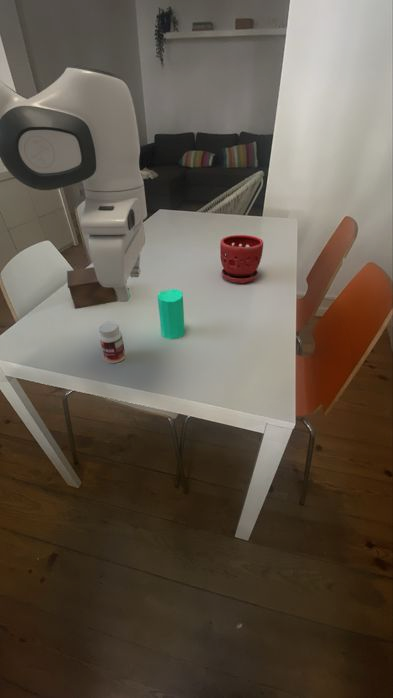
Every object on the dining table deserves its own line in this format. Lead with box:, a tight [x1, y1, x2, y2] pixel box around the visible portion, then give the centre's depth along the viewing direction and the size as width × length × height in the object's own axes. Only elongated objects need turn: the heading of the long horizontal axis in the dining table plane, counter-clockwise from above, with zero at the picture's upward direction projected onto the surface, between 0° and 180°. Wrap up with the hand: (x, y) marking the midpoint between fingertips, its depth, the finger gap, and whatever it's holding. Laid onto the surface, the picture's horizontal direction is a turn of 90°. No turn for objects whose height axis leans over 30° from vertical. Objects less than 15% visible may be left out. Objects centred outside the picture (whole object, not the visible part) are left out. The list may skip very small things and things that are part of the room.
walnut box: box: [66, 266, 119, 309], centre depth 93 cm, size 12×10×7 cm
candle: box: [157, 288, 186, 340], centre depth 76 cm, size 6×6×12 cm
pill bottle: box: [98, 321, 127, 364], centre depth 70 cm, size 5×5×8 cm
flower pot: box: [219, 234, 264, 284], centre depth 100 cm, size 13×13×12 cm
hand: (130, 287), depth 58 cm, fingers open, 8 cm apart
